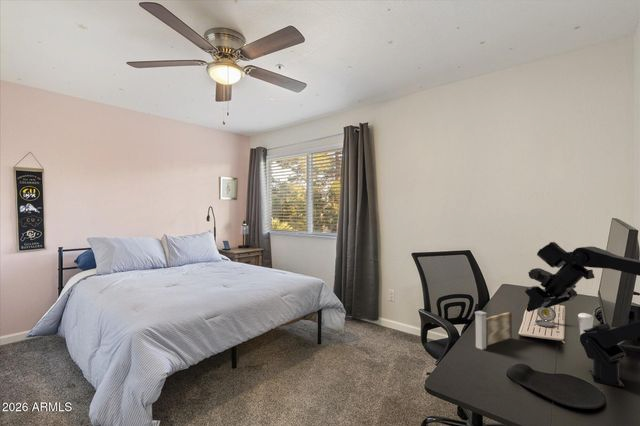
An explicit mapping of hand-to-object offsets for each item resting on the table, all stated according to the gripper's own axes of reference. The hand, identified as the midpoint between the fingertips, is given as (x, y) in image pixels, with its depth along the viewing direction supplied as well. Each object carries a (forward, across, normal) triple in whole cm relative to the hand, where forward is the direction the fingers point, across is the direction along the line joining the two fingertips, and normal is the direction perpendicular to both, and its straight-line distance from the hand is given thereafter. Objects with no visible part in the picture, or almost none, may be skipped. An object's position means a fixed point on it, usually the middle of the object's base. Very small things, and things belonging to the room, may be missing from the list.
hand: (536, 308), depth 107 cm
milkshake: (+12, -31, +9) cm, 34 cm away
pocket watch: (+21, -31, -3) cm, 37 cm away
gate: (+18, +5, 0) cm, 19 cm away
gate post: (+18, +14, +1) cm, 23 cm away
